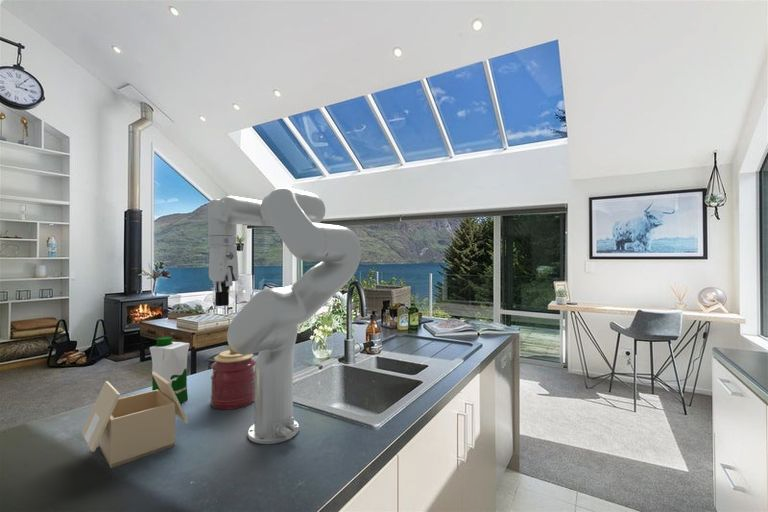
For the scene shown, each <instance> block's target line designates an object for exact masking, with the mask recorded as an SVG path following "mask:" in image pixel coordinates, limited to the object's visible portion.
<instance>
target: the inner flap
mask: <svg viewBox="0 0 768 512" xmlns="http://www.w3.org/2000/svg"><path fill="white" fill-rule="evenodd" d="M151 374H152V375H153V377H154V379H155V381H156V383H157V385H158V387H159V389H160V391H161V392H162V393H163V394H164V395H166V396H167V397H168V398H169V399H171V400H172V401H173V402H174V403H175V416H177V417H178V418H180V420H182V421H183V422H184V423H185V424H188V423H189V420H188V417H187V415H186V413H185V411H184V409H183V407H182V405H181V403H179V401H178V399H177V397H176V395H175V393H174V390H173V388H172V386H171V384H170V382H168V381H167V380H165V379H164V378H163V377H161V376H160V375H158V374H157V373H156V372H151ZM152 375H151V376H152Z"/></svg>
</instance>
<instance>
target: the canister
mask: <svg viewBox="0 0 768 512" xmlns="http://www.w3.org/2000/svg"><path fill="white" fill-rule="evenodd" d="M253 357H254V353H252V354H247V355H242V354H238V353H236V352H234V351H233V350H232V349H231V348H230V347H229V350H224V351H221V352H219V354H218V355H216V356H214V358H213V360H214V362H213V363H212V364H211V365H210V368H211V369H212V374H211V377H210V379H211V393H210V394H211V396H210V402H211V407H213V408H215V409H219V410H233V409H234V410H235V409H239V408H243V407H244V408H245V406H248V405H251V404H252V403H253V402H255V363H256V360H255V359H254V358H253Z"/></svg>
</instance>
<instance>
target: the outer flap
mask: <svg viewBox="0 0 768 512" xmlns="http://www.w3.org/2000/svg"><path fill="white" fill-rule="evenodd" d="M119 398H121V393H120V392H119V391H118V390H117V389H116V388H115V387H114V386H113V385H112V384H111V382H110V381H107V380H106V381H105V382H104V383H103V386H102V388H101V389H100V392H99V394H98V396H97V397H96V401H95V403H94V405H93V406H92V408H91V411H90V412H89V415H88V417H87V419H86V422H85V424H84V426H83V428H82V430H81V432H80V433H81V434H82V436H83V438H84V440H85V442H86V444H87V446H88V448H89V450H90V452H96V449H97V447H98V446H99V441H100V439H101V436H102V434H103V432H104V430H105V428H106V425H107V423H108V421H109V419H110V417H111V414H112V412H113V410H114V408H115V406H116V403H117V401H118V399H119Z"/></svg>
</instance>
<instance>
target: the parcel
mask: <svg viewBox="0 0 768 512" xmlns="http://www.w3.org/2000/svg"><path fill="white" fill-rule="evenodd" d="M175 442H176V414H175V403H174V402H173V401H172V400H171V399H169V398H168V397H167V396H166V395H164V394H163V393H162V392H161V391H159V390H153V391H152V390H150V391H146V392H141V393H137V394H133V395H129V396H125V397H119V399H118V401H117V403H116V406H115V408H114V410H113V412H112V414H111V417H110V419H109V421H108V423H107V425H106V428H105V430H104V432H103V434H102V436H101V439H100V441H99V443H98V448H99V449H100V451H101V453H102V455H103V456H104V458H105V460H106V462H107V464H108V465H109V467H110V468H111V469H113V468H115V467H119V466H121V465H124V464H128V463H130V462H133V461H136V460H139V459H142V458H145V457H148V456H151V455H153V454H156V453H159V452H162V451H166V450H167V449H171V448H173V447H175V446H176V443H175Z"/></svg>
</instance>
